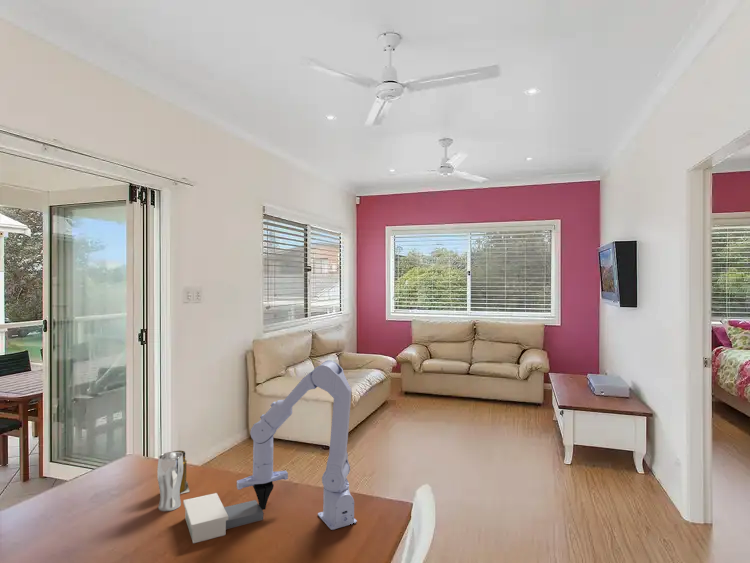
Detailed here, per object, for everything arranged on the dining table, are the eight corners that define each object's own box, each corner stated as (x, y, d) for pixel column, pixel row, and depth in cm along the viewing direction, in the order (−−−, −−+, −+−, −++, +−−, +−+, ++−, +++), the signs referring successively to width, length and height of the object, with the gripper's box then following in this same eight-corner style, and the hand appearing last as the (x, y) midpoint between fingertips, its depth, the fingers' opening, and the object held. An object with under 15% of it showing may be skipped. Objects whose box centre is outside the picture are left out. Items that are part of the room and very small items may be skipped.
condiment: (164, 497, 136) (165, 458, 137) (163, 486, 144) (163, 449, 144) (189, 492, 140) (190, 454, 140) (187, 482, 147) (187, 445, 148)
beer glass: (164, 514, 126) (165, 462, 126) (152, 507, 130) (153, 456, 130) (187, 505, 132) (188, 454, 132) (175, 498, 136) (175, 449, 136)
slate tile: (263, 520, 124) (263, 511, 124) (211, 534, 117) (211, 524, 117) (255, 508, 131) (255, 499, 131) (205, 520, 124) (205, 511, 124)
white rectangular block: (227, 535, 116) (228, 516, 116) (191, 545, 112) (191, 525, 112) (216, 510, 129) (216, 492, 129) (183, 518, 124) (183, 500, 125)
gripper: (282, 452, 136) (281, 496, 136) (234, 461, 128) (233, 508, 128) (290, 460, 130) (289, 506, 129) (240, 470, 122) (239, 519, 122)
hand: (262, 508), depth 128 cm, fingers closed
